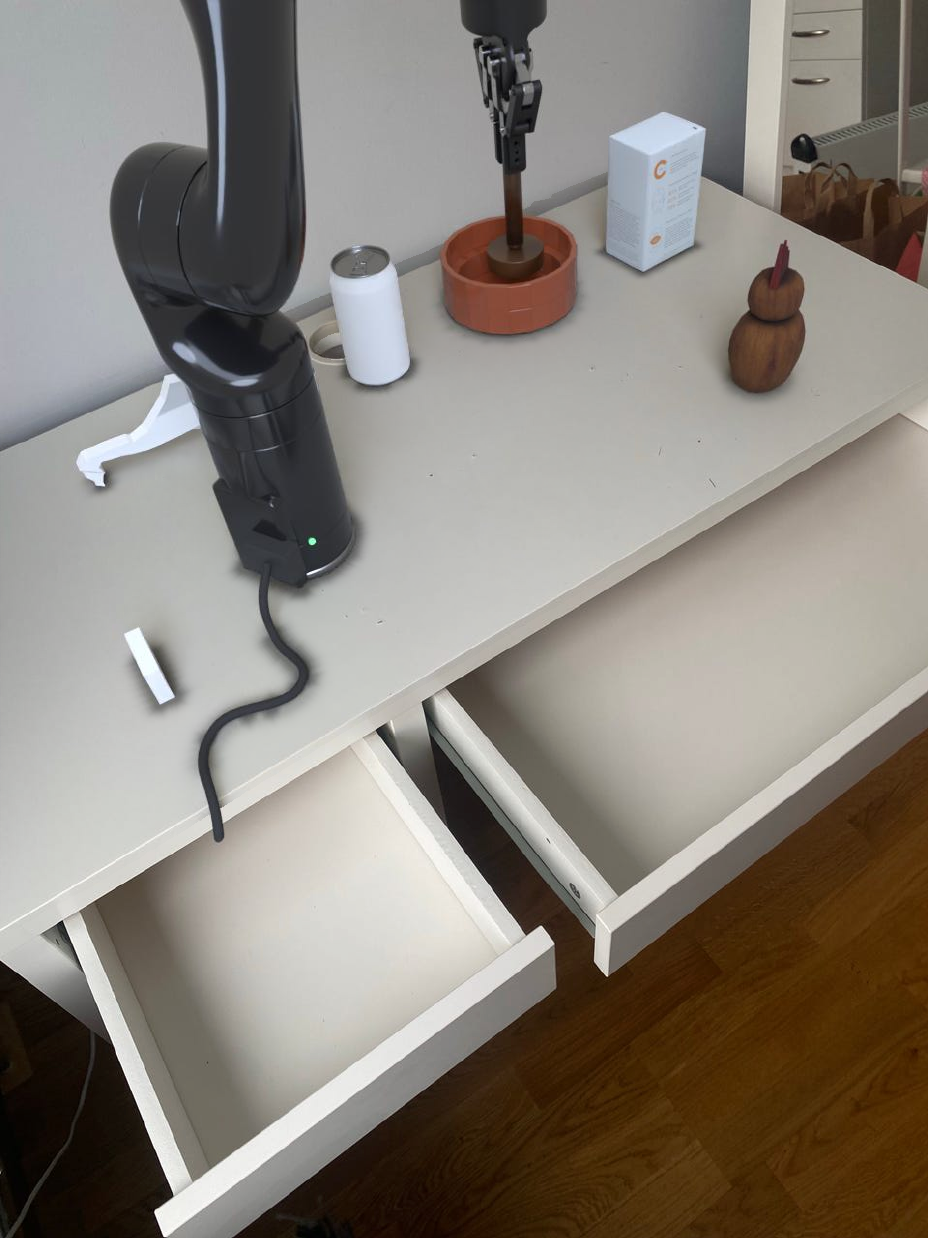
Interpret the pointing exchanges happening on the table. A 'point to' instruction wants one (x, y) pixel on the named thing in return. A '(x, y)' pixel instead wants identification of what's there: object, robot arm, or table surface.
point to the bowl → (508, 300)
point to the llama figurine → (145, 430)
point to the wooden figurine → (769, 328)
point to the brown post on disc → (514, 238)
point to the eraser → (149, 665)
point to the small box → (653, 189)
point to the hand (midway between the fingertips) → (510, 165)
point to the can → (369, 314)
